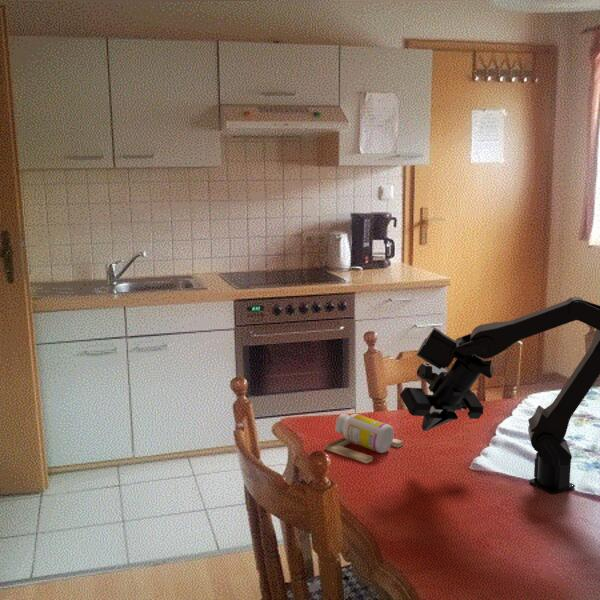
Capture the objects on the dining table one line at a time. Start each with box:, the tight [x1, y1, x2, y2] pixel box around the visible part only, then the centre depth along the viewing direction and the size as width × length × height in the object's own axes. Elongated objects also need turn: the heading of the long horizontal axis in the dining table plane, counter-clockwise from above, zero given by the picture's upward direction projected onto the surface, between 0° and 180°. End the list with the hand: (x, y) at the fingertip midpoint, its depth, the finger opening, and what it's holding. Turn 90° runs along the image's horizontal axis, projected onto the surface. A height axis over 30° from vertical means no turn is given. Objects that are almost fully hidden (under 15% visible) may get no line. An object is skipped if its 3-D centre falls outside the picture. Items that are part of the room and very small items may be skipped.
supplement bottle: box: [334, 413, 395, 454], centre depth 166 cm, size 7×7×13 cm
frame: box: [324, 437, 404, 464], centre depth 167 cm, size 12×14×1 cm
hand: (423, 429), depth 155 cm, fingers closed
